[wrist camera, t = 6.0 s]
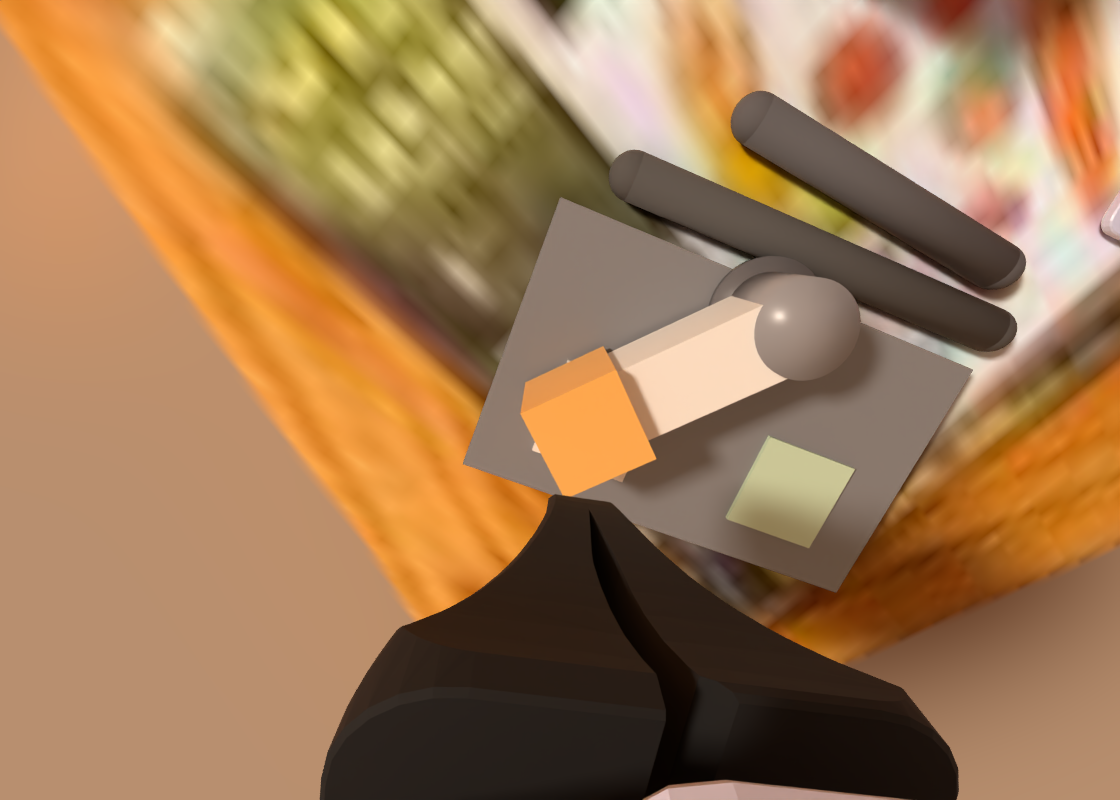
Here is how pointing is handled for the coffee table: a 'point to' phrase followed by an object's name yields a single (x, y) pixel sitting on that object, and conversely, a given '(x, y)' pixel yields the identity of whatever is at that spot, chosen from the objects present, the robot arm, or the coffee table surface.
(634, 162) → the dark grey rod
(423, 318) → the coffee table surface
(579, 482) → the lever
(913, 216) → the dark grey rounded rod
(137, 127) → the coffee table surface
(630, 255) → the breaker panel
